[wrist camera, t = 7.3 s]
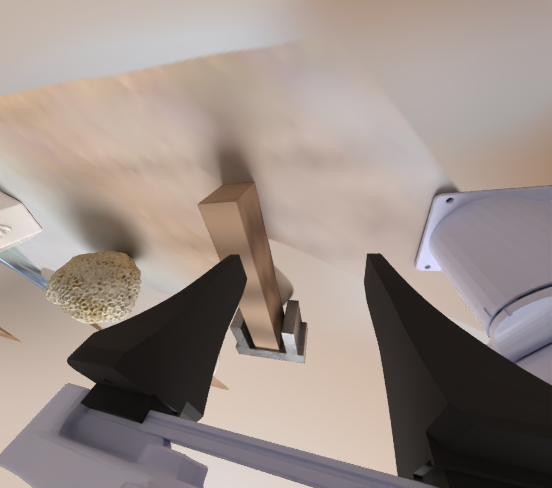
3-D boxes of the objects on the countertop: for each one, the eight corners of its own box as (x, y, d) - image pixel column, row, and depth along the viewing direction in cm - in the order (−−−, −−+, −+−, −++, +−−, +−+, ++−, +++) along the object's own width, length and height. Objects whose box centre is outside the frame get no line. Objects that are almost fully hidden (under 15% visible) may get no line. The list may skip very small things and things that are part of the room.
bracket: (303, 301, 27) (299, 334, 23) (307, 330, 31) (304, 363, 27) (238, 297, 30) (224, 326, 26) (249, 324, 34) (239, 353, 30)
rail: (285, 318, 31) (279, 350, 27) (264, 316, 32) (255, 347, 28) (255, 181, 19) (236, 201, 15) (223, 184, 20) (197, 204, 16)
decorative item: (144, 231, 26) (63, 287, 18) (176, 279, 31) (123, 340, 23) (84, 237, 29) (-5, 286, 22) (121, 279, 34) (58, 332, 26)
